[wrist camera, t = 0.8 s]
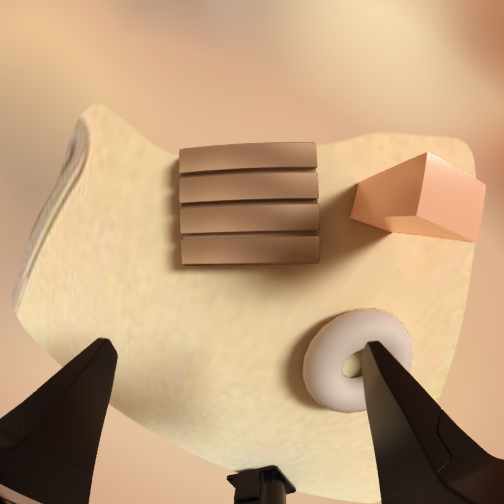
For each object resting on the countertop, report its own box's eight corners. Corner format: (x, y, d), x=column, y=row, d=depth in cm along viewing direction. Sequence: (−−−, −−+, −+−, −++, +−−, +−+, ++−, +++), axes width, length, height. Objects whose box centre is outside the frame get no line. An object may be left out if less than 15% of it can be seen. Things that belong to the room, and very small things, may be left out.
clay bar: (392, 232, 21) (476, 243, 10) (349, 217, 21) (416, 216, 10) (400, 198, 21) (486, 185, 10) (358, 182, 21) (427, 152, 10)
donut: (290, 395, 24) (385, 400, 23) (291, 417, 20) (396, 419, 19) (313, 296, 22) (417, 308, 22) (319, 308, 19) (435, 320, 18)
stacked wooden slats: (315, 260, 22) (319, 264, 20) (190, 262, 22) (182, 266, 20) (311, 147, 21) (315, 140, 19) (187, 153, 21) (179, 146, 19)
